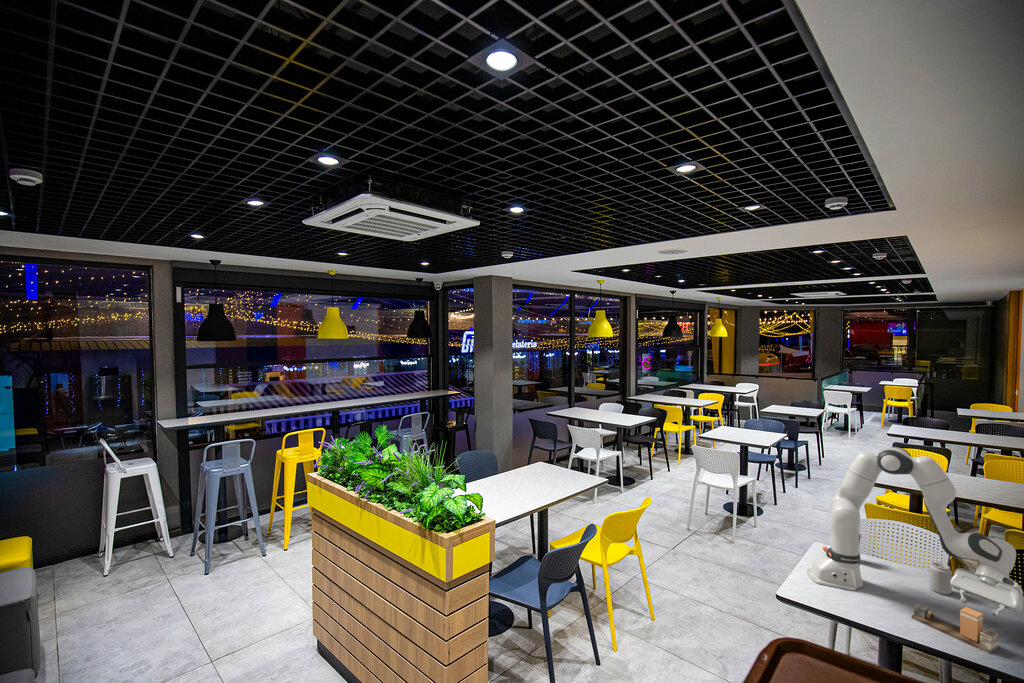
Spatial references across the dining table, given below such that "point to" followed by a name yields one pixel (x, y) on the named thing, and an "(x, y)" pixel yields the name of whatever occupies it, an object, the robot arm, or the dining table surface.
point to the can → (940, 578)
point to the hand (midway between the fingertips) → (978, 608)
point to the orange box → (971, 623)
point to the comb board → (955, 629)
